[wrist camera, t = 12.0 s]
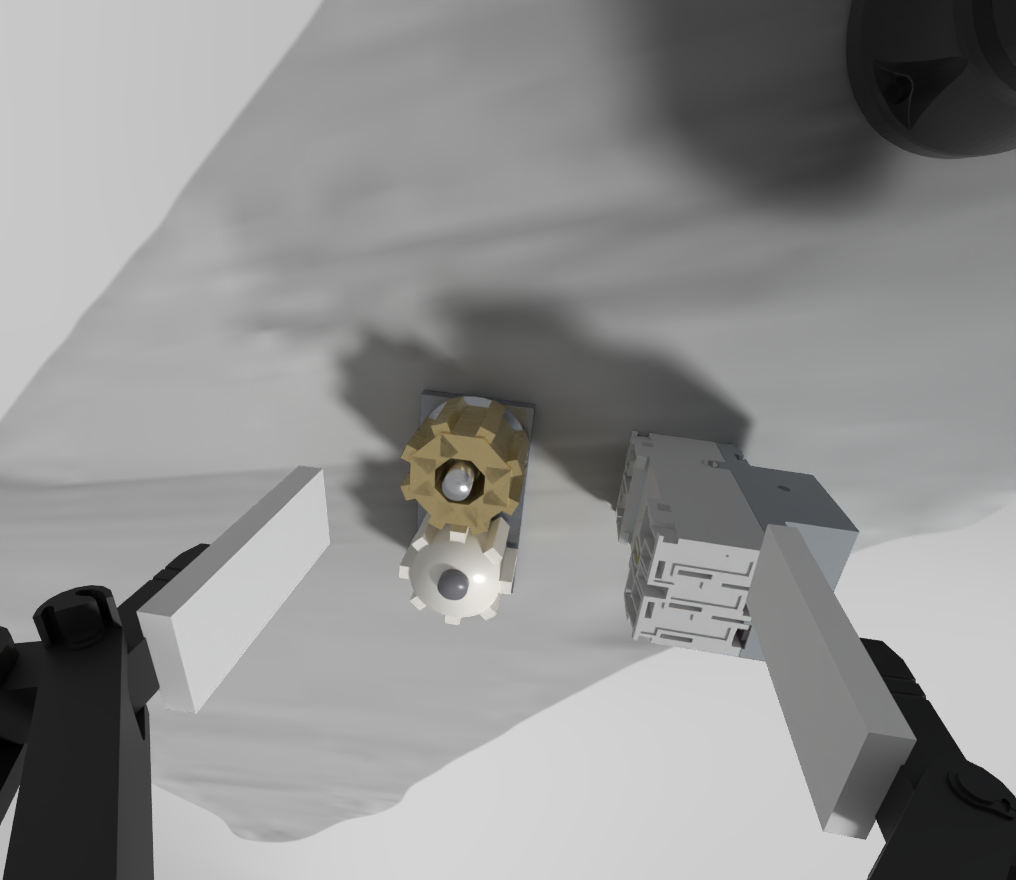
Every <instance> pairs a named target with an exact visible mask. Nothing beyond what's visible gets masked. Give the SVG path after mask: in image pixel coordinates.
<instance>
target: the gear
mask: <svg viewBox="0 0 1016 880" xmlns="http://www.w3.org/2000/svg"><path fill="white" fill-rule="evenodd" d="M430 516H431V515H430V514H429V513H427V514H426V515H425V517H424V519H423V521H422V523H421V526H420V528H419V530H418V532H417V534H415V536H414V538H413V540H412V542H411V544H410V546H409V548H408V550H407V552H406V554H405V556H404V558H403V560H402V562H401V564H400V574H399V578H405V579H411V584H412V587H413V590H414V592H413V595H412V597H411V599H410V601H411V602H412V603H413V604H414V605H415V606H416V607H417V608H418V609H419V610H421V609H423V608H424V607H426V606H428V607H429V608H430V609H432V610H434V611H436V612H438V613H440V614H443V615H445V623H449V624H455V625H459V624H460V621H461V617H470V616H474V615H477V614H480V615H481V616H482V617H483V618H484V619H485V620H488V619H490V618H492V617H493V616H495V615H497V611H498V607H499V602H500V597H501V593H503V594H509V595H510V594H511V588H512V583H513V577H514V572H515V566H516V561H517V552H518V549H513V548H507V545H506V541H507V537H508V532H509V528H510V526H509V525H508V524H507V523H506V521H505V520H504V519H503V518H502V517H499V518H498V519H496V520H494V521H491V520H490V524H489V527H488V531H487V532H482V533H477V534H472V533H471V530H470V527H469V526H462V525H455V524H448V523H445V525H444V527H443V528H442V530H441V529H439V528H437V527H435V526H433V525H431V524H429V523H427V522H428V520H429V518H430Z"/></svg>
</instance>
